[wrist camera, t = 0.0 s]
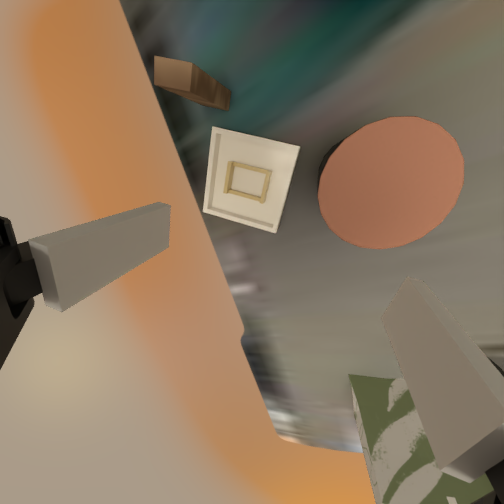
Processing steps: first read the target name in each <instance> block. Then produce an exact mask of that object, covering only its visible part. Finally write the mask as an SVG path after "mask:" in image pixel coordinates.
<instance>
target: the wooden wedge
mask: <svg viewBox="0 0 504 504" xmlns="http://www.w3.org/2000/svg"><path fill="white" fill-rule="evenodd" d="M154 84H155V85H157V86H159V87H162V88H164V89H166V90H168V91H171V92H173V93H175V94H178V95H180V96H182V97H185V98H187V99H189V100H191V101H194V102H196V103H198V104H201V105H203V106H208V107H213V108H217V109H222V110H227V111H229V104H230V97H231V91H230V90H228V89H227V88H226V87H224V86H223V85H222V84H220V83H219V82H218V81H216V80H215V79H214V78H212V77H211V76H209V75H208V74H207V73H205V72H204V71H203V70H201V69H200V68H199V67H197V66H196V65H194V64H193V63H191V62H185V61H180V60H174V59H169V58H163V57H158V56H155V62H154Z"/></svg>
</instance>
